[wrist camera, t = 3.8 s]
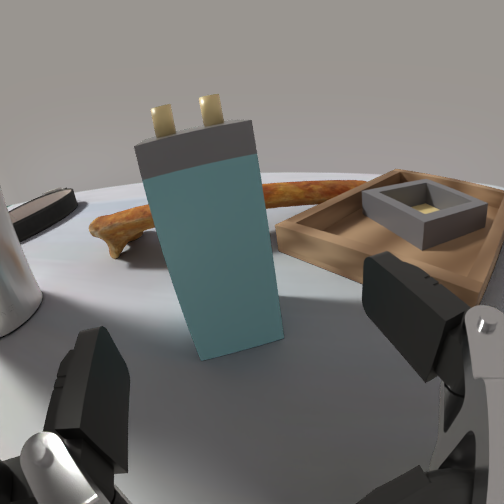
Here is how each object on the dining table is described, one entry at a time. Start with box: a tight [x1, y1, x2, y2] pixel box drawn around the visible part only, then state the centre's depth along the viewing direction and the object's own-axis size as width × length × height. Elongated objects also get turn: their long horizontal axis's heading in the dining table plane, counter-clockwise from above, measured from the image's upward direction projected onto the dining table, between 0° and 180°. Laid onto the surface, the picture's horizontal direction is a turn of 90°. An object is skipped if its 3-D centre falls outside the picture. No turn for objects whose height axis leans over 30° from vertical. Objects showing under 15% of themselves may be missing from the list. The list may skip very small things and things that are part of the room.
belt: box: [9, 187, 78, 242], centre depth 59 cm, size 29×30×5 cm
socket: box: [362, 179, 488, 251], centre depth 27 cm, size 10×10×2 cm
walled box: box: [275, 169, 504, 308], centre depth 26 cm, size 17×23×2 cm
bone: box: [89, 180, 366, 259], centre depth 33 cm, size 33×8×10 cm, turn 96°
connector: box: [134, 94, 284, 361], centre depth 16 cm, size 5×5×14 cm
